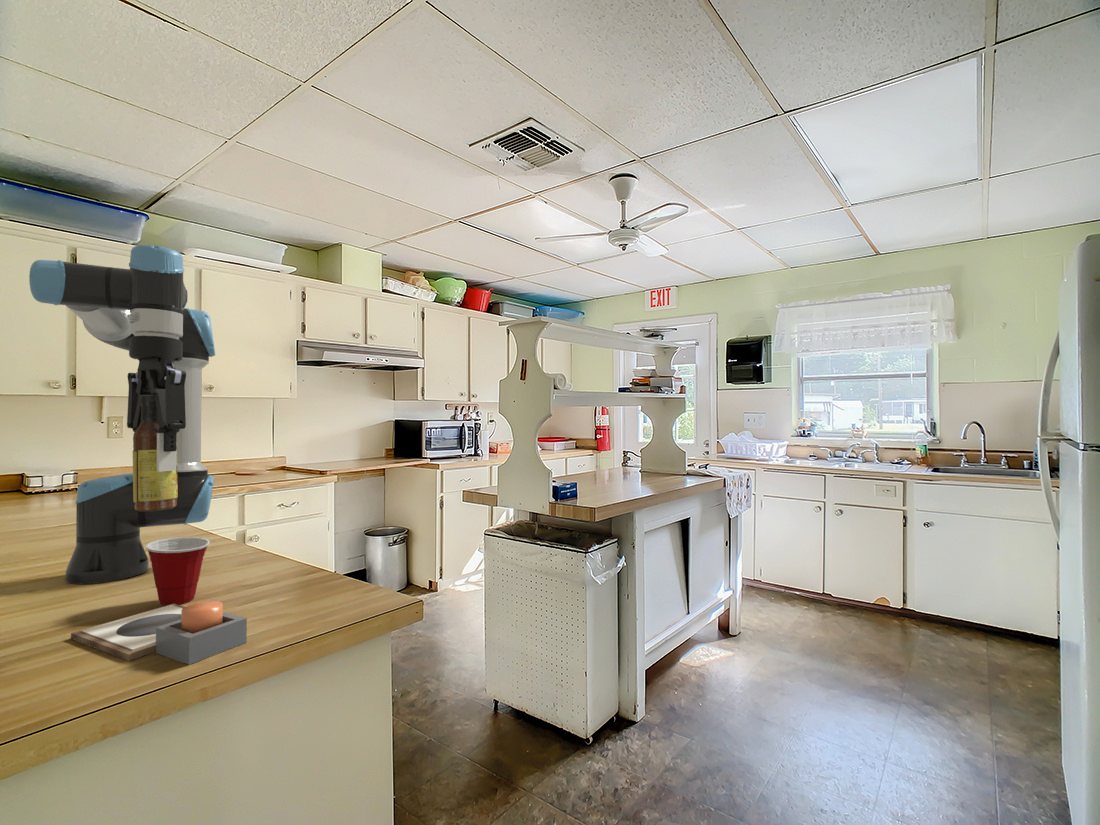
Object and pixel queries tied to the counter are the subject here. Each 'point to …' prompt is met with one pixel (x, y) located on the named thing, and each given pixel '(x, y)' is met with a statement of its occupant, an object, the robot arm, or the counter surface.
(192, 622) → the button
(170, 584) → the plastic cup
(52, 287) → the robot arm
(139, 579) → the counter surface
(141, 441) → the sauce bottle
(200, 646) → the button housing
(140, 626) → the board
